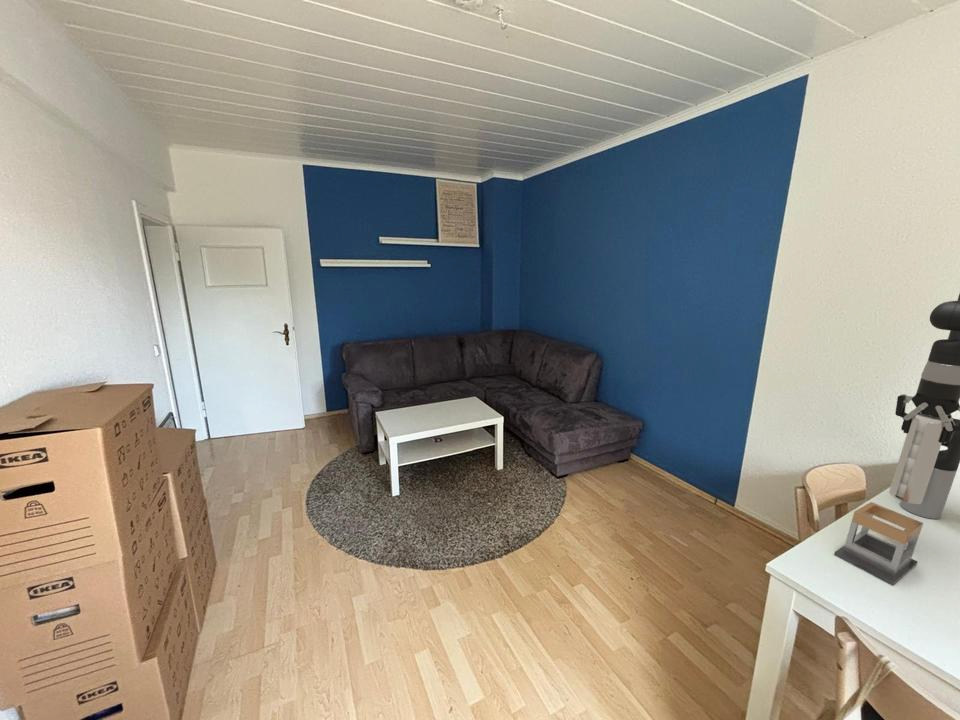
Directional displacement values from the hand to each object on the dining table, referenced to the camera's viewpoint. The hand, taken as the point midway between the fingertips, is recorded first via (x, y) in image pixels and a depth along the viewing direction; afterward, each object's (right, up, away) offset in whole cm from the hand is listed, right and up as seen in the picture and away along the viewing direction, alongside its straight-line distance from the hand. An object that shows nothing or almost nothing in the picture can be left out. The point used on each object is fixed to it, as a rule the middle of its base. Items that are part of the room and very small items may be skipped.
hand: (924, 437), depth 106 cm
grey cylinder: (0, -18, +5) cm, 19 cm away
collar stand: (-12, -34, +1) cm, 36 cm away
